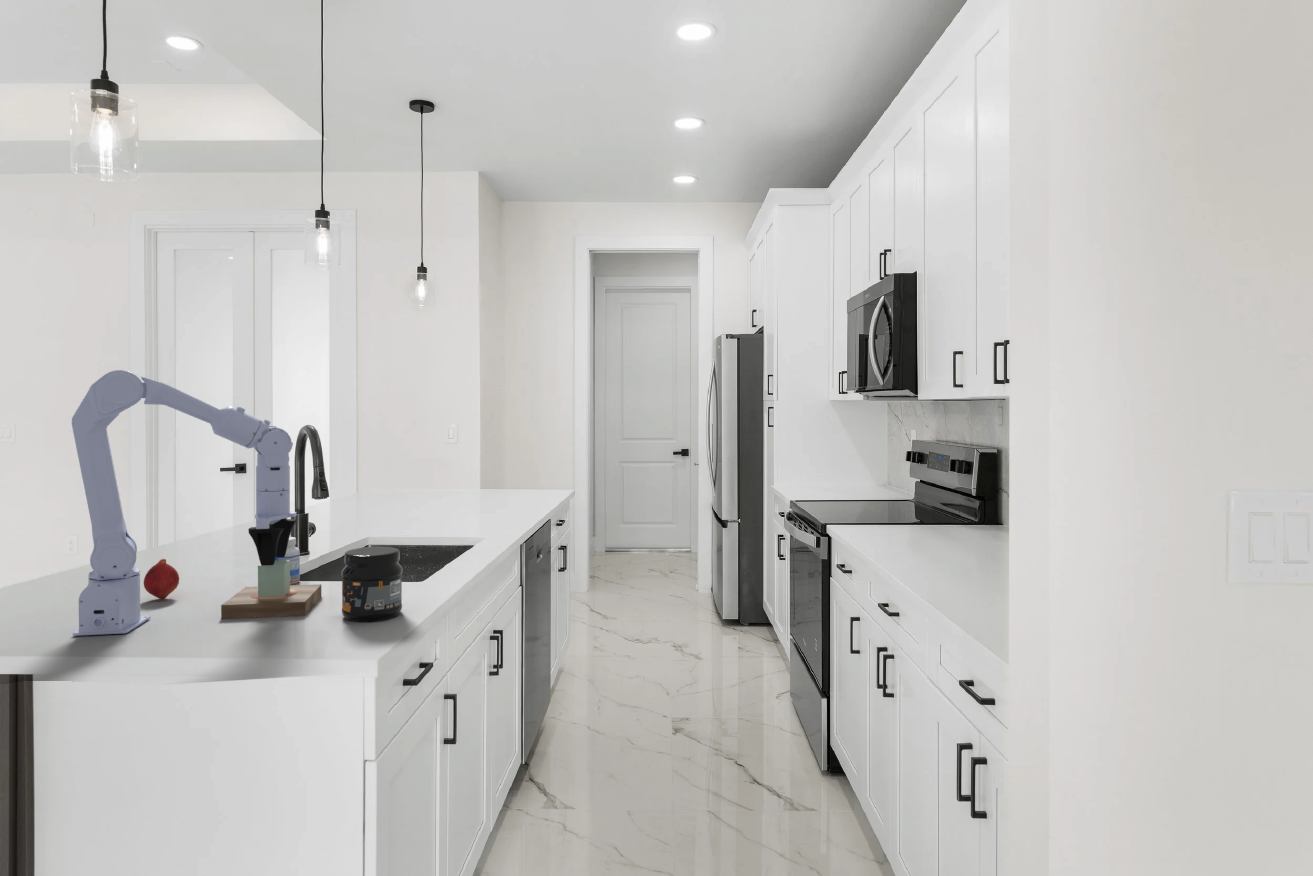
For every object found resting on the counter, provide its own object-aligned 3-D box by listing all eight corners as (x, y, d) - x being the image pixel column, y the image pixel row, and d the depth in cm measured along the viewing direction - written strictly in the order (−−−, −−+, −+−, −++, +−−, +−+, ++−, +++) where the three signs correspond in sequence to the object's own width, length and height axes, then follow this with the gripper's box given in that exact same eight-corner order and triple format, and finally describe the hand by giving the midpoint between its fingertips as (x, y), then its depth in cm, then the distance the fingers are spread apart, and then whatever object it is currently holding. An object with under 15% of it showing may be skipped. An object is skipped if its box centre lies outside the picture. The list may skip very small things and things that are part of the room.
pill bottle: (272, 581, 164) (272, 537, 164) (299, 579, 167) (299, 535, 166) (271, 586, 159) (271, 541, 159) (299, 584, 162) (299, 539, 161)
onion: (150, 604, 144) (150, 563, 144) (139, 599, 147) (138, 559, 147) (184, 598, 148) (183, 558, 148) (172, 594, 152) (172, 554, 152)
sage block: (284, 596, 141) (283, 564, 141) (257, 597, 140) (257, 565, 140) (290, 590, 146) (289, 560, 146) (264, 591, 145) (264, 560, 145)
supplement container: (342, 610, 142) (342, 547, 141) (401, 606, 145) (401, 544, 145) (340, 625, 132) (340, 558, 131) (403, 620, 136) (403, 554, 135)
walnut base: (305, 615, 138) (305, 601, 138) (221, 618, 135) (221, 604, 135) (321, 596, 152) (321, 584, 151) (245, 599, 148) (245, 586, 148)
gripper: (285, 494, 136) (286, 568, 137) (304, 486, 150) (304, 553, 151) (243, 494, 135) (243, 569, 135) (266, 486, 149) (266, 554, 149)
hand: (273, 561), depth 143 cm, fingers open, 7 cm apart
